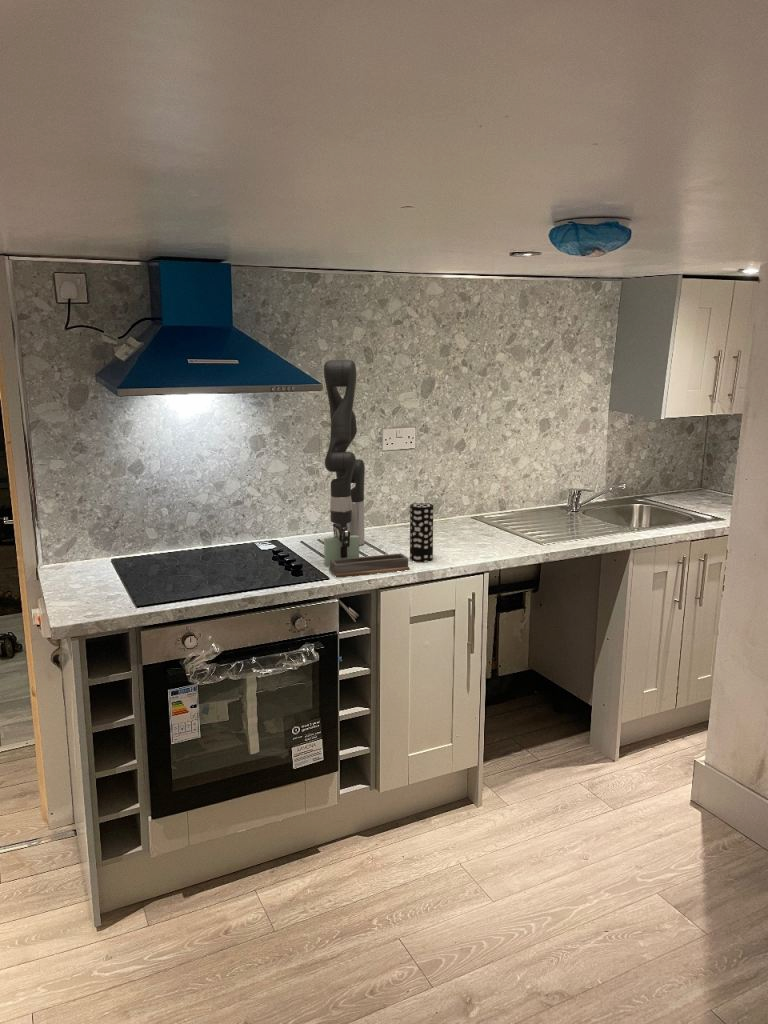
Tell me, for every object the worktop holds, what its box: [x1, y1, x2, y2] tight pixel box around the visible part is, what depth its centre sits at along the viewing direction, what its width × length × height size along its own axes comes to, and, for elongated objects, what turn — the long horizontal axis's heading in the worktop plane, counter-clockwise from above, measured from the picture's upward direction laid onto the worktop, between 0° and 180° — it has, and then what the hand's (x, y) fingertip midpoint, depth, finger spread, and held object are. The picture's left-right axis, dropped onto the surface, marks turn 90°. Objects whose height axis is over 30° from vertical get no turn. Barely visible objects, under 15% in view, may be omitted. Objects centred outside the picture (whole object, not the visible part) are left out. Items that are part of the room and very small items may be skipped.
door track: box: [328, 552, 411, 578], centre depth 269 cm, size 10×26×4 cm, turn 109°
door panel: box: [323, 535, 360, 568], centre depth 275 cm, size 2×12×10 cm, turn 109°
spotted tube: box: [409, 502, 434, 563], centre depth 280 cm, size 8×8×20 cm
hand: (341, 555), depth 275 cm, fingers open, 5 cm apart
